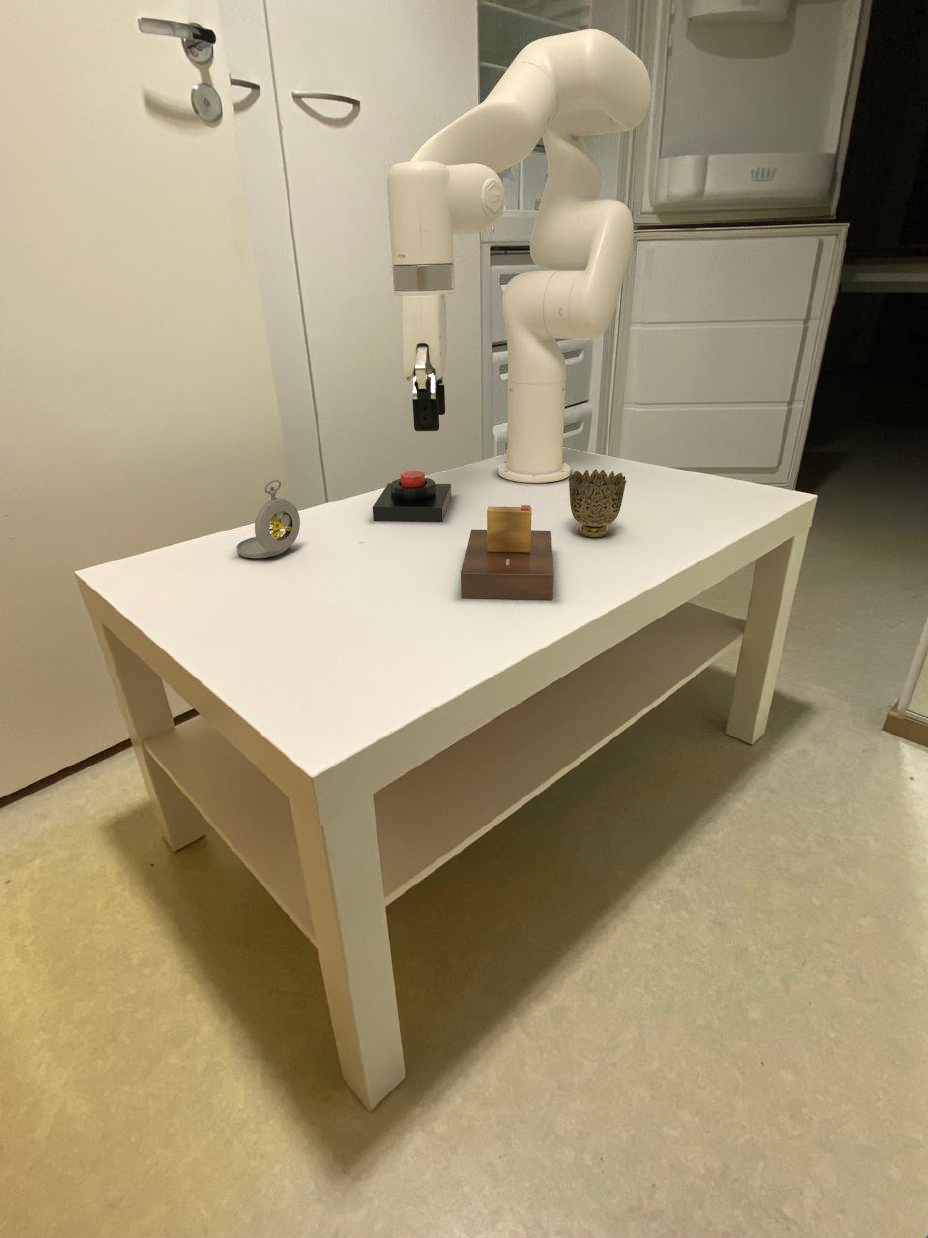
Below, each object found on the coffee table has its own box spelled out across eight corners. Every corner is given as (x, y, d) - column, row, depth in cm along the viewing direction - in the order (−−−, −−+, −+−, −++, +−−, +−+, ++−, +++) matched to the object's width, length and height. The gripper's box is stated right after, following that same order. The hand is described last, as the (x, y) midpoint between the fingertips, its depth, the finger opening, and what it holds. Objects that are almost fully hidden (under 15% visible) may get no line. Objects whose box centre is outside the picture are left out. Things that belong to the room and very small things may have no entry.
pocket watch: (246, 542, 94) (234, 468, 90) (308, 542, 94) (299, 468, 89) (226, 566, 87) (211, 487, 82) (293, 565, 87) (282, 486, 82)
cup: (621, 545, 91) (626, 485, 87) (563, 542, 92) (566, 482, 89) (621, 526, 97) (626, 469, 94) (567, 523, 99) (570, 467, 95)
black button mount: (388, 496, 112) (387, 471, 110) (451, 497, 111) (450, 472, 109) (373, 521, 101) (371, 494, 99) (442, 522, 100) (441, 495, 98)
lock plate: (471, 551, 90) (471, 528, 88) (549, 552, 89) (550, 529, 88) (461, 598, 78) (460, 571, 76) (552, 600, 77) (553, 573, 75)
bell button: (403, 482, 106) (402, 470, 105) (426, 482, 106) (426, 470, 105) (399, 488, 103) (398, 477, 102) (423, 489, 102) (422, 477, 102)
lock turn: (487, 551, 81) (487, 508, 79) (488, 546, 83) (487, 504, 80) (530, 552, 81) (531, 509, 79) (530, 547, 82) (531, 504, 80)
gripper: (402, 279, 94) (410, 409, 102) (382, 285, 79) (393, 438, 87) (458, 277, 94) (462, 408, 102) (448, 283, 79) (453, 437, 87)
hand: (430, 422), depth 94 cm, fingers open, 9 cm apart
